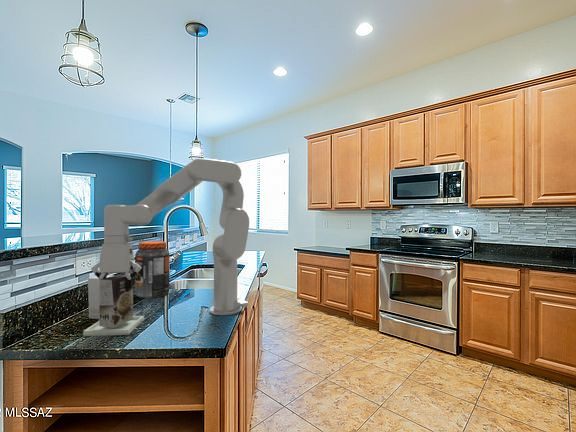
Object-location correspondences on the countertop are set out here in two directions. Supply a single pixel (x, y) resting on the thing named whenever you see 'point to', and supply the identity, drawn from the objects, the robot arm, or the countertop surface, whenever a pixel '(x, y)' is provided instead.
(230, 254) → the robot arm
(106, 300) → the coffee box
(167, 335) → the countertop surface
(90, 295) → the skincare box
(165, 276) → the supplement tub
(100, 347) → the countertop surface
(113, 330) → the tray
